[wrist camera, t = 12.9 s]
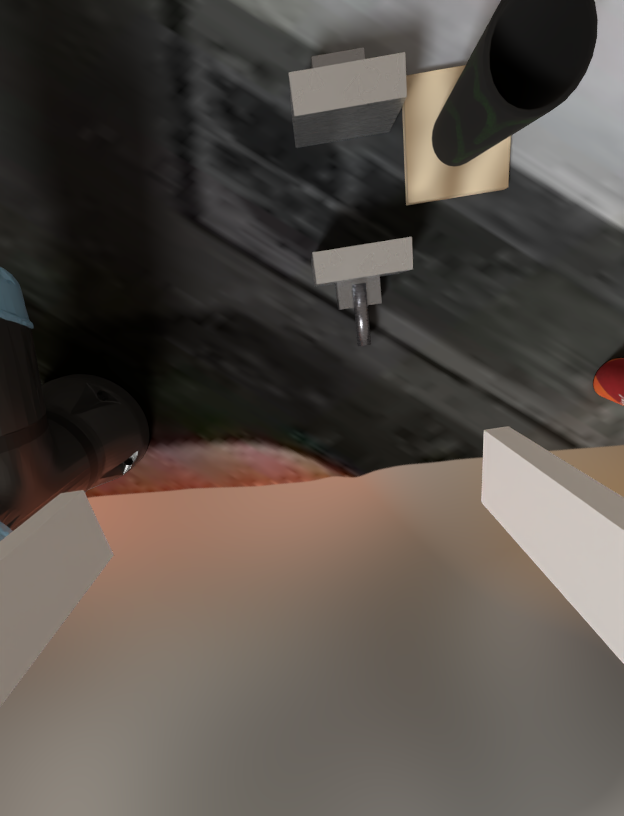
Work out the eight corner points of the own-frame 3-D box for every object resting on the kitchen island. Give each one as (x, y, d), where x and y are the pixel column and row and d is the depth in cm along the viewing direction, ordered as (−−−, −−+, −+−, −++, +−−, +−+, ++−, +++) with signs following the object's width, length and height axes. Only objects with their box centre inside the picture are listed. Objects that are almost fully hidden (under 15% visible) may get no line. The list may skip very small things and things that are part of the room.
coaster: (406, 205, 35) (408, 203, 34) (401, 81, 31) (403, 76, 31) (503, 189, 35) (508, 187, 34) (510, 62, 31) (515, 56, 30)
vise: (323, 348, 40) (326, 355, 34) (286, 75, 31) (282, 25, 25) (399, 336, 40) (415, 342, 34) (385, 58, 31) (403, 3, 25)
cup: (410, 114, 32) (469, 10, 20) (482, 70, 31) (586, -66, 19) (436, 192, 34) (502, 138, 23) (503, 153, 33) (608, 76, 22)
